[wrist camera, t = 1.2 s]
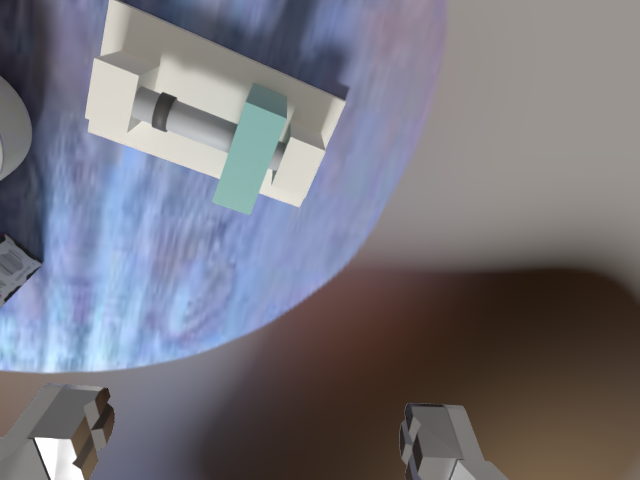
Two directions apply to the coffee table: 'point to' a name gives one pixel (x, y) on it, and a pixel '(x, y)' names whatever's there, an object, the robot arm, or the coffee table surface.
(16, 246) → the candy bar box
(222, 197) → the collar
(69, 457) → the robot arm
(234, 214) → the coffee table surface
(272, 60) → the coffee table surface
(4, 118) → the teacup
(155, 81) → the pipe stand
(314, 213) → the coffee table surface
